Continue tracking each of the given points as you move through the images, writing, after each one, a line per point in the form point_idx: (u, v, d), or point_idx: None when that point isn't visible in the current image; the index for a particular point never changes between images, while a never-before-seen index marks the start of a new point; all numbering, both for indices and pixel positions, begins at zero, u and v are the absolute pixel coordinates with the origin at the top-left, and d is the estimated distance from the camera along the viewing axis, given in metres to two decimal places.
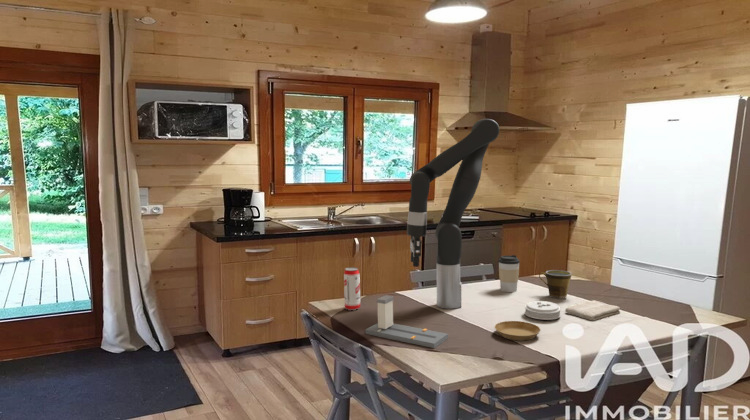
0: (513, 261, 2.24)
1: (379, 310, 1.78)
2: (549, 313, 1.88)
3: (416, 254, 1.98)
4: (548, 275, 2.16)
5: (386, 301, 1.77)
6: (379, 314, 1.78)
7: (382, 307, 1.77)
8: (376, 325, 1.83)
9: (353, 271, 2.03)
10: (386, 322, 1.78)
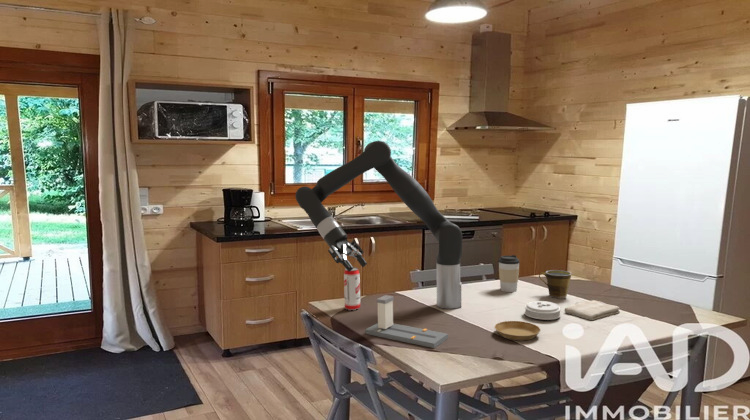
0: (513, 261, 2.24)
1: (379, 310, 1.78)
2: (549, 313, 1.88)
3: (337, 260, 1.80)
4: (548, 275, 2.16)
5: (386, 301, 1.77)
6: (379, 314, 1.78)
7: (382, 307, 1.77)
8: (376, 325, 1.83)
9: (353, 271, 2.03)
10: (386, 322, 1.78)
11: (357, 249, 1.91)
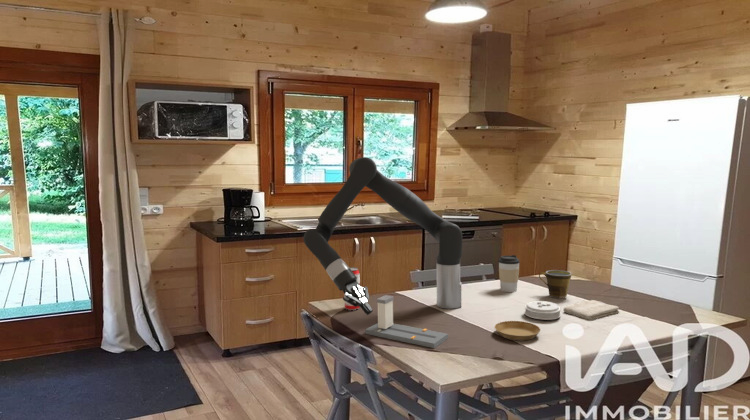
0: (513, 261, 2.24)
1: (379, 310, 1.78)
2: (549, 313, 1.88)
3: (355, 304, 1.82)
4: (548, 275, 2.16)
5: (386, 301, 1.77)
6: (379, 314, 1.78)
7: (382, 307, 1.77)
8: (376, 325, 1.83)
9: (353, 271, 2.03)
10: (386, 322, 1.78)
11: None
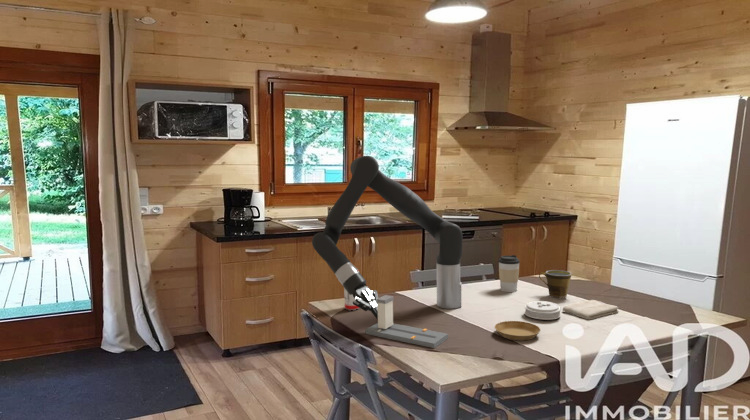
0: (513, 261, 2.24)
1: (379, 310, 1.78)
2: (549, 313, 1.88)
3: (365, 308, 1.80)
4: (548, 275, 2.16)
5: (386, 301, 1.77)
6: (379, 314, 1.78)
7: (382, 307, 1.77)
8: (376, 325, 1.83)
9: None
10: (386, 322, 1.78)
11: None
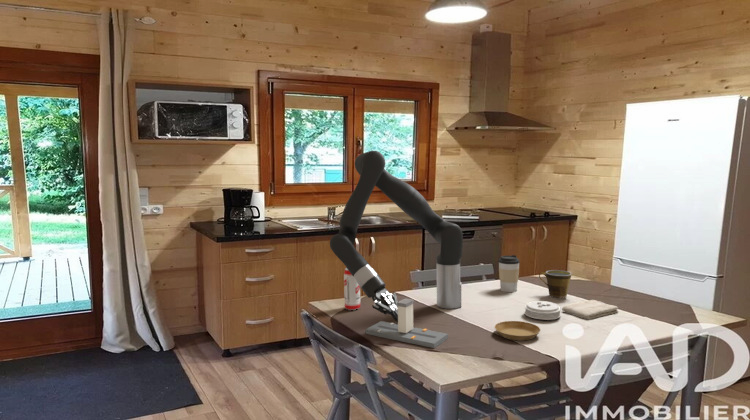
0: (513, 261, 2.24)
1: (399, 314, 1.74)
2: (549, 313, 1.88)
3: (385, 311, 1.76)
4: (548, 275, 2.16)
5: (407, 304, 1.72)
6: (399, 318, 1.74)
7: (403, 310, 1.73)
8: (376, 325, 1.83)
9: None
10: (407, 326, 1.73)
11: (394, 302, 1.82)
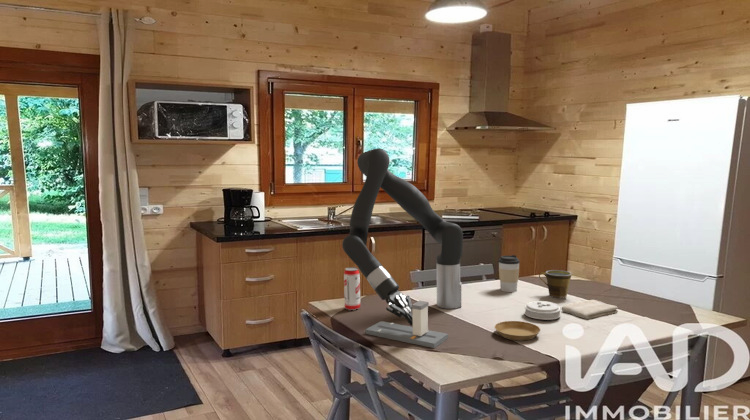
0: (513, 261, 2.24)
1: (414, 316, 1.71)
2: (549, 313, 1.88)
3: (399, 314, 1.73)
4: (548, 275, 2.16)
5: (422, 307, 1.69)
6: (414, 320, 1.71)
7: (418, 313, 1.70)
8: (376, 325, 1.83)
9: (353, 271, 2.03)
10: (422, 328, 1.71)
11: (408, 305, 1.79)
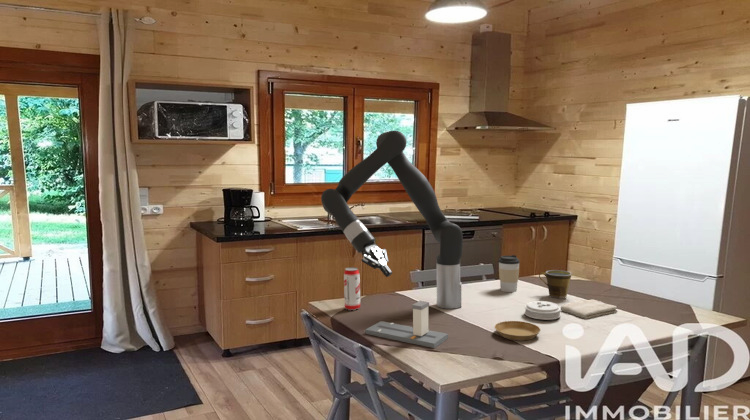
0: (513, 261, 2.24)
1: (415, 316, 1.70)
2: (549, 313, 1.88)
3: (374, 265, 1.77)
4: (548, 275, 2.16)
5: (422, 307, 1.69)
6: (414, 321, 1.71)
7: (418, 313, 1.70)
8: (376, 325, 1.83)
9: (353, 271, 2.03)
10: (422, 328, 1.70)
11: None
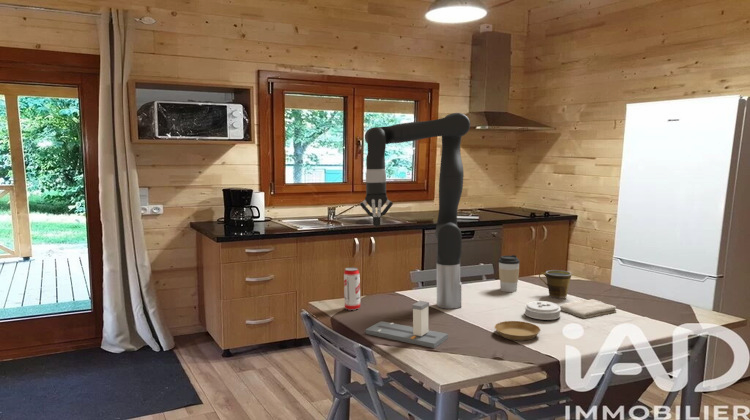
0: (513, 261, 2.24)
1: (415, 316, 1.70)
2: (549, 313, 1.88)
3: None
4: (548, 275, 2.16)
5: (422, 307, 1.69)
6: (414, 321, 1.71)
7: (418, 313, 1.70)
8: (376, 325, 1.83)
9: (353, 271, 2.03)
10: (422, 328, 1.70)
11: None
